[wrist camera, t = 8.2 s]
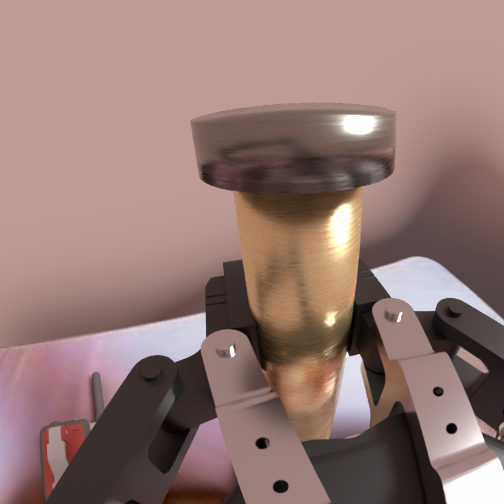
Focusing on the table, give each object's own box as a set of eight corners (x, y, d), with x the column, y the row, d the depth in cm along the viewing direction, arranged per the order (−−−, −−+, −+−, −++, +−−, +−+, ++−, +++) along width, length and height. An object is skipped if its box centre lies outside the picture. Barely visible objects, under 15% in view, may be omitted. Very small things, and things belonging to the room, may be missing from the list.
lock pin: (237, 451, 13) (147, 130, 6) (281, 389, 16) (257, 104, 9) (320, 486, 11) (377, 125, 4) (356, 415, 14) (403, 107, 7)
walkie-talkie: (143, 529, 17) (108, 377, 33) (121, 520, 14) (93, 353, 31) (64, 538, 14) (51, 392, 30) (36, 526, 12) (33, 370, 28)
